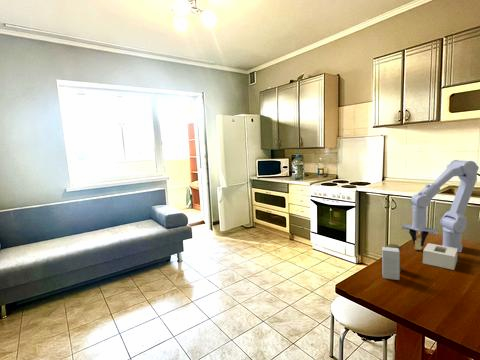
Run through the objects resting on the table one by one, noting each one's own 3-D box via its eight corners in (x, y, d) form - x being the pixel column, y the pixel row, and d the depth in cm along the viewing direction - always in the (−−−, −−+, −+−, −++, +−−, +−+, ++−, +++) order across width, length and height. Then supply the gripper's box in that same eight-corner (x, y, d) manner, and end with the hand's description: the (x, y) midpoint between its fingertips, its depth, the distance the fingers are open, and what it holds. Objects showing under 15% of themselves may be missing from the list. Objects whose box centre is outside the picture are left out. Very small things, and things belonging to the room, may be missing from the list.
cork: (397, 265, 118) (397, 242, 117) (404, 272, 112) (404, 247, 111) (382, 265, 119) (383, 242, 118) (389, 272, 113) (389, 247, 112)
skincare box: (398, 275, 110) (398, 248, 108) (399, 280, 106) (400, 252, 105) (381, 273, 113) (382, 246, 111) (382, 278, 109) (382, 250, 107)
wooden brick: (416, 246, 136) (416, 237, 135) (422, 247, 134) (422, 238, 134) (414, 249, 133) (414, 240, 132) (420, 250, 131) (420, 241, 130)
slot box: (427, 255, 127) (427, 243, 126) (456, 261, 119) (457, 248, 119) (422, 263, 119) (423, 250, 119) (454, 270, 112) (454, 256, 111)
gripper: (400, 218, 134) (400, 244, 135) (435, 223, 123) (435, 251, 125) (404, 215, 139) (403, 240, 140) (438, 219, 128) (437, 246, 130)
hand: (418, 245), depth 133 cm, fingers closed on wooden brick, 2 cm apart
